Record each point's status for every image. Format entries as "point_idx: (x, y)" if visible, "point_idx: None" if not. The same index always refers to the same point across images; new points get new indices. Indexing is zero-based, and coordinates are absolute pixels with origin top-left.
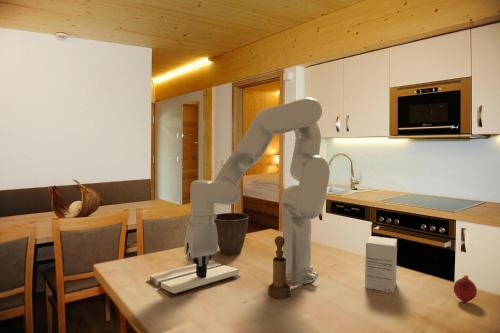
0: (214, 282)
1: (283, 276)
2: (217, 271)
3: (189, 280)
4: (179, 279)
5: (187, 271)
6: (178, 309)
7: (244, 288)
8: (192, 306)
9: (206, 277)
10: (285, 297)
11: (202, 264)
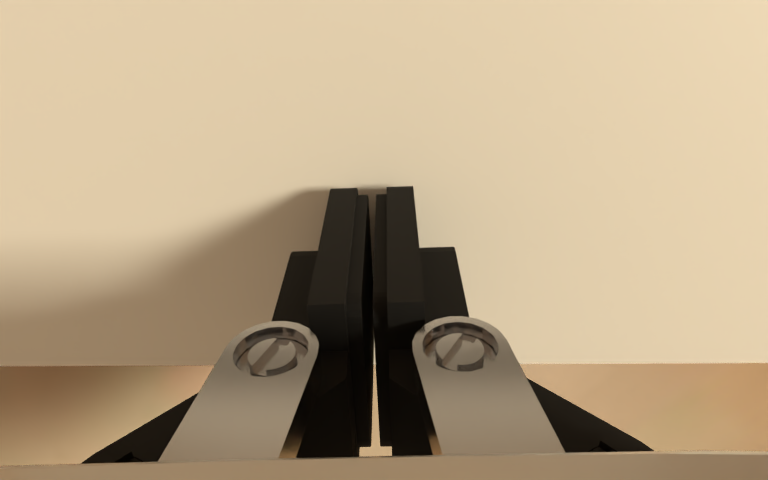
0: None
1: None
2: (720, 198)
3: (170, 254)
4: (59, 76)
5: None
6: (21, 406)
7: (704, 419)
8: (140, 425)
9: None
10: None
11: (389, 395)
